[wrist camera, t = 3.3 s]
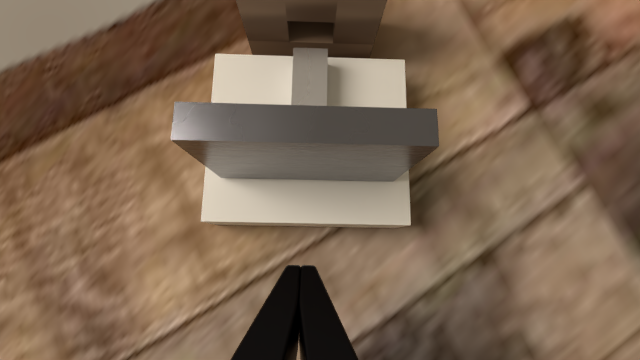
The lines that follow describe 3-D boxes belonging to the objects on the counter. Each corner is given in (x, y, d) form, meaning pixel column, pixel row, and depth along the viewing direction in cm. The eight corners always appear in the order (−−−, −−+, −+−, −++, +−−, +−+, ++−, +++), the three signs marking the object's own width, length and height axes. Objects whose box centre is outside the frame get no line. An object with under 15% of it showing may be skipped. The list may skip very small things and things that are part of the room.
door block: (397, 228, 22) (410, 225, 19) (215, 224, 22) (200, 221, 19) (393, 82, 24) (404, 59, 21) (227, 77, 24) (215, 53, 21)
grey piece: (393, 181, 19) (439, 146, 12) (220, 177, 19) (170, 139, 12) (390, 64, 21) (429, -25, 14) (230, 59, 21) (189, -34, 14)
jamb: (365, 69, 24) (392, -16, 16) (255, 65, 24) (229, -22, 16) (365, 20, 25) (390, -83, 17) (258, 17, 25) (234, -90, 17)
